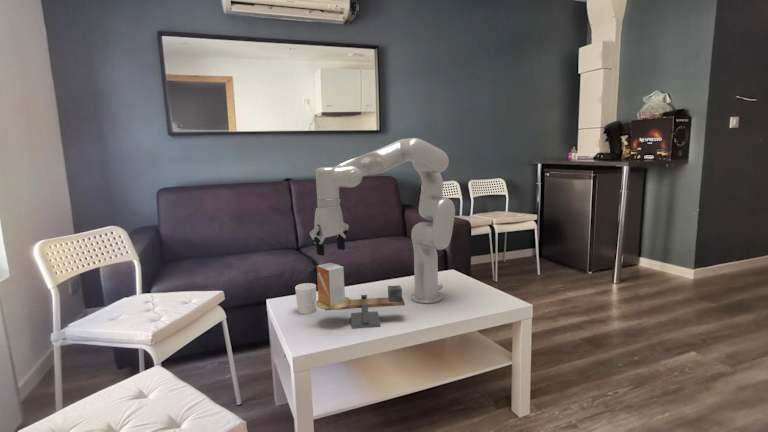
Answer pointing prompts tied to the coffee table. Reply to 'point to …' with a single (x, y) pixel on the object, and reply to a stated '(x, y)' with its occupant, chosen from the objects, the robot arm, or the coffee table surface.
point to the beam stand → (365, 317)
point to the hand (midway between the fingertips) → (331, 252)
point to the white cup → (306, 298)
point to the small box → (330, 284)
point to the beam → (369, 301)
